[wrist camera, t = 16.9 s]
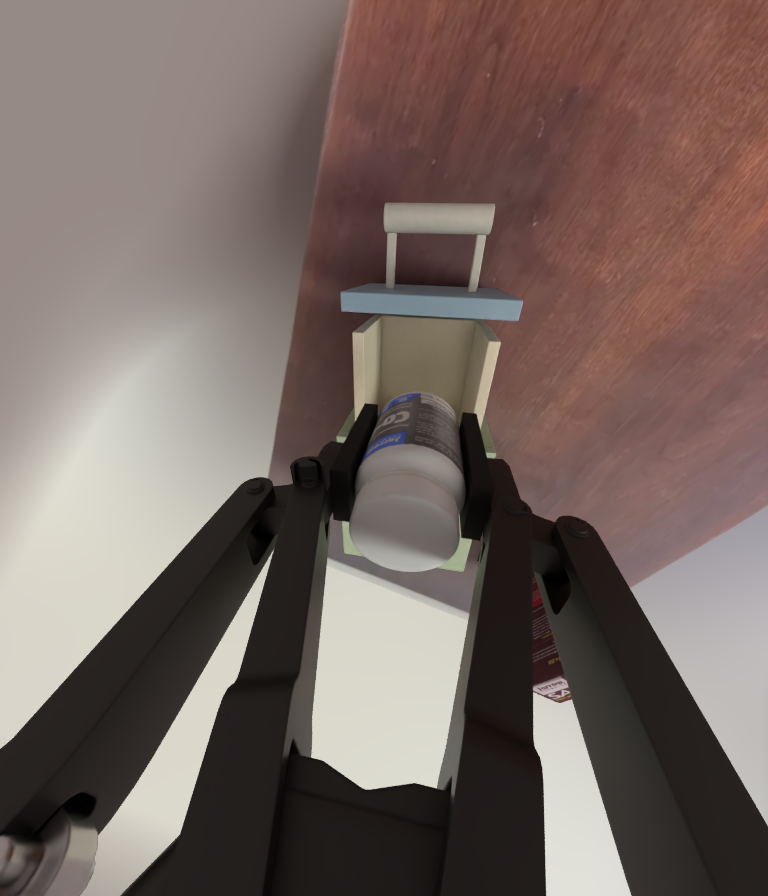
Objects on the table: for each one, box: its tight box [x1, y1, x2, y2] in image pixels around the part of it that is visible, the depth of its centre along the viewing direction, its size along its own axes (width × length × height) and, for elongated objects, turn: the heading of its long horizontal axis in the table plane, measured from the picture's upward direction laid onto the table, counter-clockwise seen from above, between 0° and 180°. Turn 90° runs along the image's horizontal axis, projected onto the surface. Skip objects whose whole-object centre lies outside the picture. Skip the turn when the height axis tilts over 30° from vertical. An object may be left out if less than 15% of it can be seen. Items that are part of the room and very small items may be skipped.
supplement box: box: [532, 571, 572, 703], centre depth 36 cm, size 9×5×16 cm, turn 151°
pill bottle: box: [349, 391, 466, 572], centre depth 14 cm, size 5×5×8 cm
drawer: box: [340, 203, 523, 430], centre depth 25 cm, size 18×11×9 cm, turn 178°
